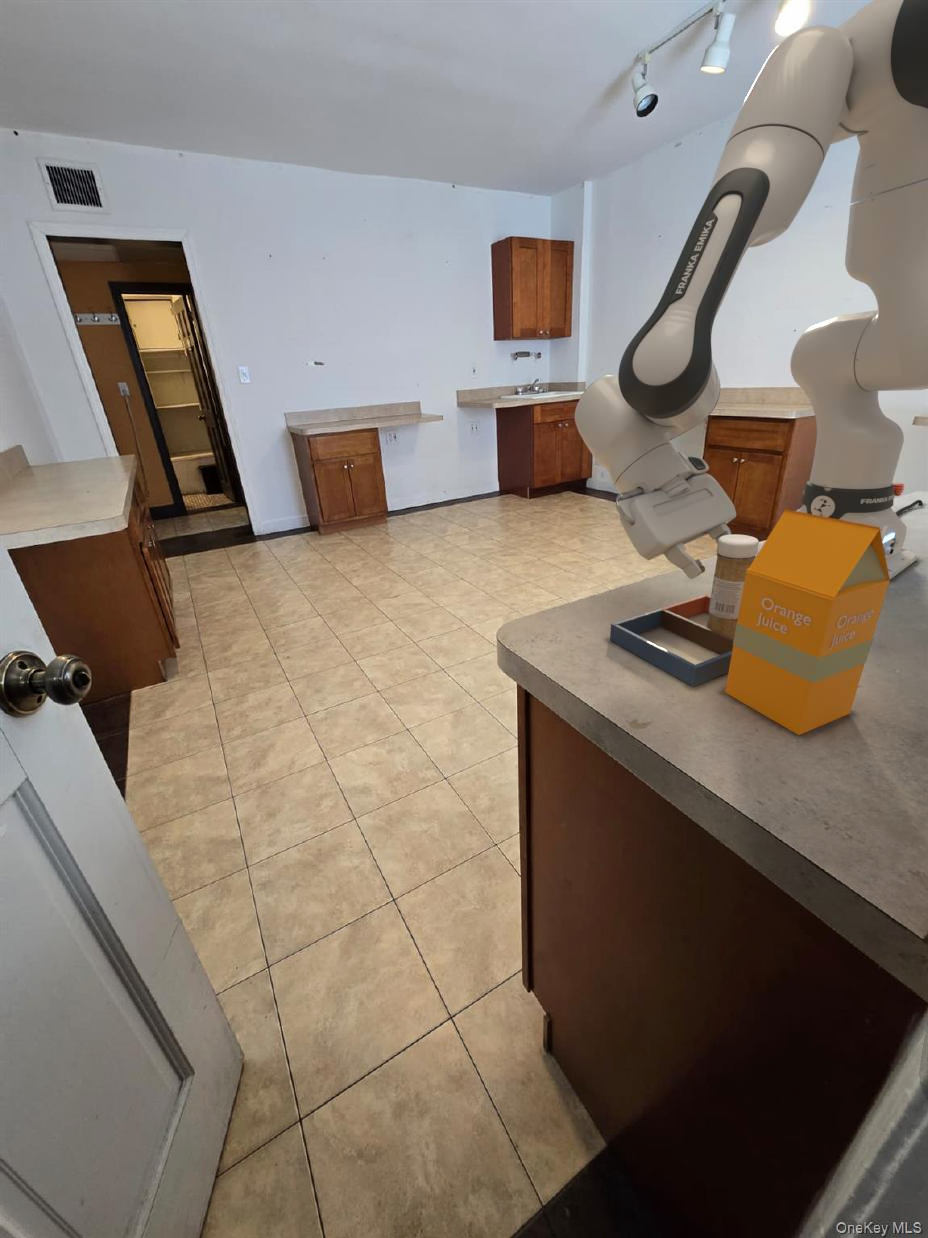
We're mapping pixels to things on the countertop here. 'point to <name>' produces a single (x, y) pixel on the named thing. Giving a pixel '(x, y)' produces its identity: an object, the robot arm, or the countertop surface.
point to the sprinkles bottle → (730, 581)
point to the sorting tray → (677, 623)
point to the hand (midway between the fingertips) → (716, 565)
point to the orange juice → (808, 619)
